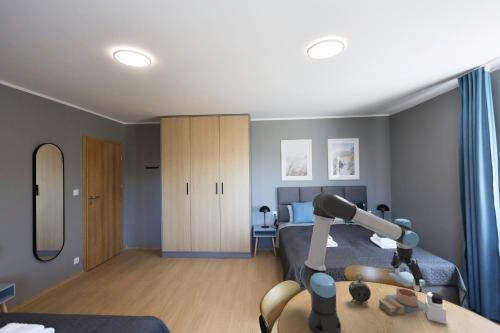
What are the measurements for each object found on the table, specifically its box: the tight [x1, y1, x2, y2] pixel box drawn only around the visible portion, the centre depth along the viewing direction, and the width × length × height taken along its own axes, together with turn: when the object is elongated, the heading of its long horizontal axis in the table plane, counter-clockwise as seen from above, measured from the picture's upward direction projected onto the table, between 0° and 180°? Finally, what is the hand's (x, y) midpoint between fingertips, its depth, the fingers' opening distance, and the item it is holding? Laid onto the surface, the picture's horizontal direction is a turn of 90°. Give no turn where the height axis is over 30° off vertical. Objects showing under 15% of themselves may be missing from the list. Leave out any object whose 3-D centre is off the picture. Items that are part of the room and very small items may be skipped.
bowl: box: [395, 287, 419, 307], centre depth 124 cm, size 10×10×5 cm
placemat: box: [384, 293, 426, 313], centre depth 124 cm, size 16×16×1 cm
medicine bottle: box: [424, 291, 448, 325], centre depth 110 cm, size 7×7×12 cm
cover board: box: [388, 271, 426, 288], centre depth 124 cm, size 12×12×2 cm
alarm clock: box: [348, 274, 372, 306], centre depth 125 cm, size 11×5×16 cm, turn 83°
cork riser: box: [378, 298, 405, 316], centre depth 117 cm, size 8×8×4 cm
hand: (406, 285), depth 124 cm, fingers closed on cover board, 12 cm apart
